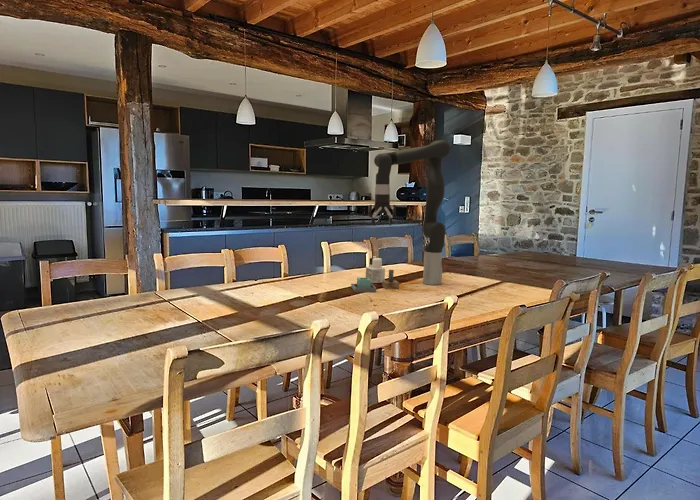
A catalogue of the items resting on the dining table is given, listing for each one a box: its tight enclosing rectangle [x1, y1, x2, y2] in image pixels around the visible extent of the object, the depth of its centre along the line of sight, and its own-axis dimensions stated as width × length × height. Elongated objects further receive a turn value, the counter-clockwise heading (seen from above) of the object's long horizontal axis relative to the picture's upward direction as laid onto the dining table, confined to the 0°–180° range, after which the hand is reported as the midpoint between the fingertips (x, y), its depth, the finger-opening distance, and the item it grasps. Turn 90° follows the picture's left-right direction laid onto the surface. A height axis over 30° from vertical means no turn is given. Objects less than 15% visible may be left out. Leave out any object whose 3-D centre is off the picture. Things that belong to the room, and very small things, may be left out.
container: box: [365, 256, 386, 284], centre depth 257 cm, size 8×8×13 cm
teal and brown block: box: [381, 269, 400, 290], centre depth 244 cm, size 7×7×9 cm
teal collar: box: [356, 277, 372, 288], centre depth 236 cm, size 6×6×5 cm
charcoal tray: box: [350, 283, 377, 293], centre depth 237 cm, size 11×11×2 cm
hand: (381, 225), depth 246 cm, fingers open, 8 cm apart
